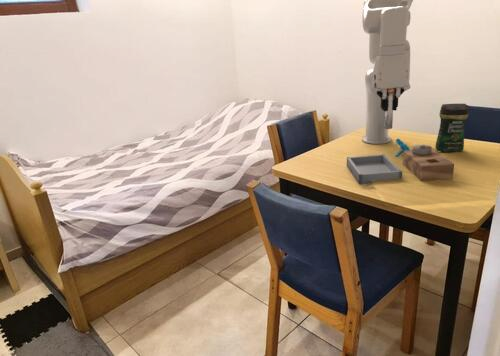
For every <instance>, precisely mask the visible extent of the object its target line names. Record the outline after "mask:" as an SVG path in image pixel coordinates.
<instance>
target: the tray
mask: <svg viewBox="0 0 500 356" xmlns="http://www.w3.org/2000/svg"><path fill="white" fill-rule="evenodd" d="M346 168H348V171H349V172H350V173H351V174H352V176H353V178H354V179H355V181H356V183H357V184H358V185H369V184H370V185H371V184H373V182H375V181H376V182H377V181H391V180H402V179H403V171H402V170H401V168H399V167H398V166H397V165H396V164H395V163H394V162H393V161H391V159H390V158H389V157H388V156H387V155H386V154H384V153H383V154H374V155H372V154H371V155H362V156H361V155H359V156H357V155H356V156H348V157H347V156H346Z"/></svg>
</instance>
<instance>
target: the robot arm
mask: <svg viewBox="0 0 500 356" xmlns="http://www.w3.org/2000/svg"><path fill="white" fill-rule="evenodd" d="M413 1H414V0H363V9H362V17H361V18H362V28H363V31H364V33H365V34H367V35H369V38H368V40H369V45H368V54H369V57H368V58H369V61H370V63H371V64H373V68H371V69H369V70H367V72H365V76H364V77H365V78H364V81H365V88H366V109H365V111H366V112H365V113H366V114H365V135H363V136H361V141H362V142H364V143H365V144H371V145H383V144H389V143H391V141H392V139H393V137H392V136H390V135H389V129H385V111H387V104H388V99H386V94H387V89H394V88H395V92H394V104H393V112H394V111H398V107H399V98H401V96H402V95H403V93H404V92H406V91H408V90H410V89H411V85H410V79H411V77H410V76H411V74H410V73H411V45H410V42H409V40H408V39H407V32H408V31H407V29H408V26H410V22H411V11H410V9H411V6H412V4H413Z"/></svg>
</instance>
